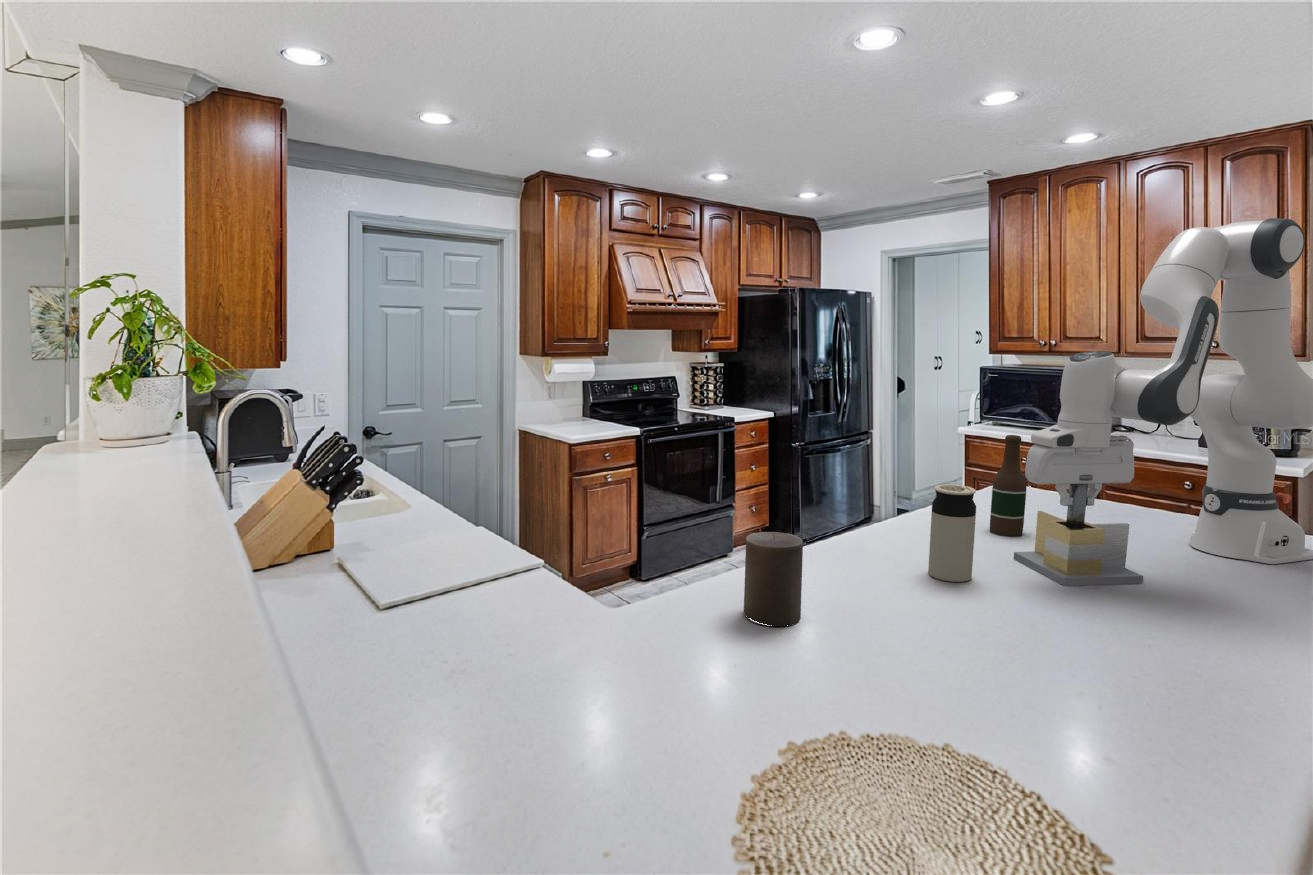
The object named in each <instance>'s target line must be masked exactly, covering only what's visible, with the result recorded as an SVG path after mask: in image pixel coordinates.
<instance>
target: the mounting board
mask: <svg viewBox="0 0 1313 875" xmlns="http://www.w3.org/2000/svg"><path fill="white" fill-rule="evenodd" d="M1013 560H1015V561H1017V562H1019V563H1021V564H1023V565H1025V566H1026V567H1028V568H1030V569H1031V570H1034V571H1035V572H1038V573H1039V574H1041V575H1043V576H1045V577H1047V578H1049V579H1051V580H1052V581H1054V582H1055V583H1058V584H1060V585H1061V586H1064V587H1066V586H1067V587H1068V586H1071V587H1072V586H1095V585H1096V586H1099V585H1129V584H1130V585H1131V584H1143V582H1144V575H1143V574H1141V573H1138V572H1136V571H1133V570H1131V569H1129V568H1127V567H1125V568H1102V569H1101V574H1094V575H1065V574H1063V573H1061V572H1059V571H1057V570H1055V569H1053V568H1051V567H1049V566H1047V565H1045V564H1043V560H1044V556H1043V555H1041V554H1039V553H1037V552H1035V550H1034V551H1014V552H1013Z"/></svg>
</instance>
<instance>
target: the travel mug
mask: <svg viewBox="0 0 1313 875" xmlns="http://www.w3.org/2000/svg"><path fill="white" fill-rule="evenodd" d="M934 491H935V498H934V499H933V501H932V502H931V520H930V534H929V536H930V537H929V538H930V539H929V554H928V569H927V570H928V571H927V572H928V574H929V575H930V576H931V577H933V578H935V579H936V580H940V581H943V582H944V581H945V582H949V583H963V582H967V581H970V580H971V579H972V577H973V576H972V575H973V564H974V563H973V562H974V546H975V532H976V530H975V529H976V518H977V516H976V515H977V505H976V503H975V501H974V497H975V496H974V495H975V494H976V492H977V490H976V489H975V488H973V487H971V486H968V485H961V484H960V485H959V484H948V483H947V484H939V485H938V484H937V485H935V486H934Z"/></svg>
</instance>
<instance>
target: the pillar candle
mask: <svg viewBox="0 0 1313 875" xmlns="http://www.w3.org/2000/svg"><path fill="white" fill-rule="evenodd" d="M803 549H804V541H803V539H802V538H801V537H799V536H798V535H795V534H791V533H788V532H787V533H784V532H776V531H762V532H753V533H752V532H751V533H750V534H749V535H747V536H746V537H745V557H744V558H745V562H744V563H745V564H744V593H743V594H744V595H743V597H744V598H743V614H745V615H746V616H747V617H748V618H751V619H752V620H754V621H757V622H759V623H763V624H767V625H772V626H771V627H773V626H780V627H779V628H782V627H781V626H787V625H790V626H793V625H792V624H794V625H796V624H797V623H799V622H800V621H799V620H801V618H802V617H801V615H802V586H803V584H802V581H803V556H804V555H803V551H804V550H803ZM745 615H744V616H745ZM746 616H745V617H746ZM798 621H799V622H798ZM795 623H796V624H795ZM787 627H788V626H787Z"/></svg>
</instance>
